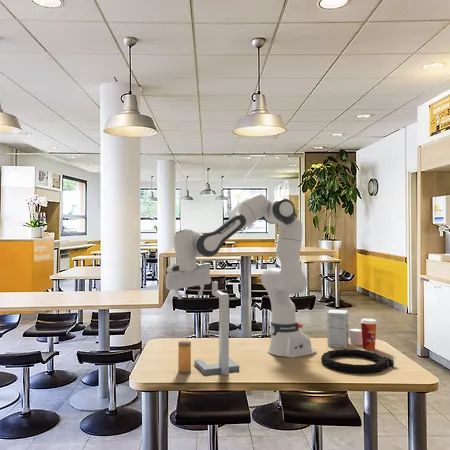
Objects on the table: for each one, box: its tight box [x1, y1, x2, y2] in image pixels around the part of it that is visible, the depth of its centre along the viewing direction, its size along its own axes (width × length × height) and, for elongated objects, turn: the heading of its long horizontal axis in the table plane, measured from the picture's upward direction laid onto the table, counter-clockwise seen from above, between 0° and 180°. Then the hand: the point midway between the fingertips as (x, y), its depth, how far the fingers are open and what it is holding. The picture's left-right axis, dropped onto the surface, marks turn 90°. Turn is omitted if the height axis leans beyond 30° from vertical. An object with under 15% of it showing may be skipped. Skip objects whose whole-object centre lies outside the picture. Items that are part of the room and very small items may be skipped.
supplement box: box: [326, 309, 350, 349], centre depth 226 cm, size 10×9×17 cm
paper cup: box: [360, 317, 378, 351], centre depth 219 cm, size 8×8×14 cm
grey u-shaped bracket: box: [194, 357, 240, 375], centre depth 189 cm, size 15×14×2 cm
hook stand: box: [211, 280, 230, 377], centre depth 186 cm, size 3×14×36 cm, turn 20°
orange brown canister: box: [177, 340, 192, 375], centre depth 184 cm, size 5×5×12 cm
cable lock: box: [320, 348, 395, 375], centre depth 194 cm, size 28×4×30 cm
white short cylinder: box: [348, 328, 363, 346], centre depth 229 cm, size 7×7×7 cm
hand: (190, 297), depth 200 cm, fingers open, 8 cm apart
